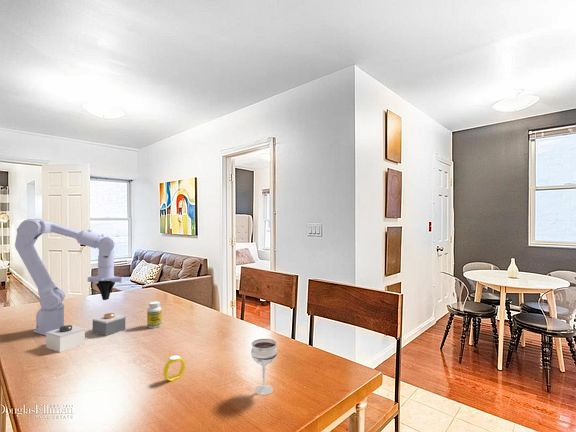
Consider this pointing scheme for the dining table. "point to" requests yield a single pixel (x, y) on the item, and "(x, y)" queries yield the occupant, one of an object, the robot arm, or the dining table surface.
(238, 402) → the dining table surface
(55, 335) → the press white
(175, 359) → the gold diamond ring
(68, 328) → the doorknob dark gray
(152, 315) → the supplement bottle
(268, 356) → the wineglass
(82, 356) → the dining table surface
